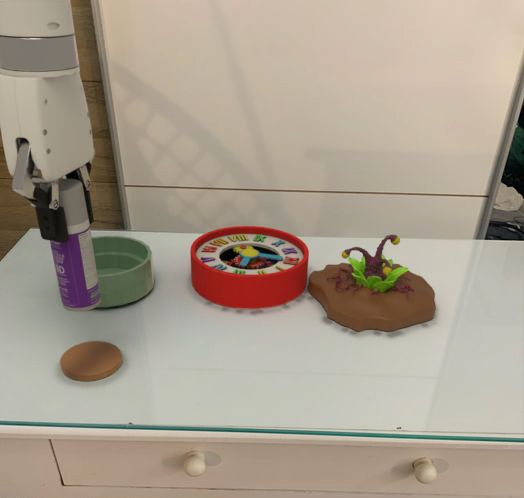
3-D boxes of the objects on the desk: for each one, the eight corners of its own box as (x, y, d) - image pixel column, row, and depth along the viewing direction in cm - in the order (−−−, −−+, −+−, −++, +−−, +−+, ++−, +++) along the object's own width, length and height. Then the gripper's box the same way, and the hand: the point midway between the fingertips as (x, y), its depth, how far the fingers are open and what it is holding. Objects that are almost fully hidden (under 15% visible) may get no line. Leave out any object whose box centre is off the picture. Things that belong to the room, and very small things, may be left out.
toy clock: (211, 220, 103) (317, 233, 100) (211, 249, 107) (314, 263, 103) (172, 266, 87) (297, 284, 84) (174, 299, 91) (294, 317, 87)
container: (55, 308, 69) (30, 189, 60) (74, 290, 72) (53, 176, 64) (89, 314, 68) (69, 194, 59) (107, 296, 71) (91, 180, 63)
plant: (456, 323, 87) (474, 258, 81) (341, 338, 83) (351, 271, 76) (397, 267, 103) (408, 209, 97) (298, 277, 98) (302, 217, 92)
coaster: (49, 375, 73) (47, 369, 73) (80, 342, 79) (79, 336, 79) (104, 386, 72) (103, 380, 71) (132, 352, 78) (131, 346, 77)
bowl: (42, 301, 88) (34, 267, 85) (89, 261, 100) (84, 230, 97) (129, 317, 85) (125, 282, 82) (168, 274, 98) (165, 242, 94)
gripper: (51, 43, 62) (77, 202, 72) (-58, 64, 48) (-7, 256, 59) (113, 48, 60) (130, 209, 71) (19, 70, 47) (57, 266, 57)
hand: (68, 229), depth 64 cm, fingers closed on container, 4 cm apart
